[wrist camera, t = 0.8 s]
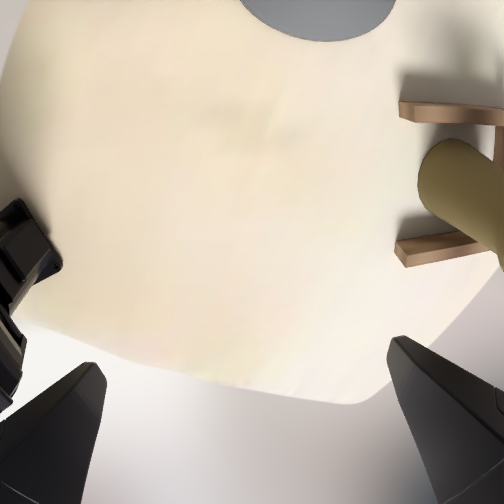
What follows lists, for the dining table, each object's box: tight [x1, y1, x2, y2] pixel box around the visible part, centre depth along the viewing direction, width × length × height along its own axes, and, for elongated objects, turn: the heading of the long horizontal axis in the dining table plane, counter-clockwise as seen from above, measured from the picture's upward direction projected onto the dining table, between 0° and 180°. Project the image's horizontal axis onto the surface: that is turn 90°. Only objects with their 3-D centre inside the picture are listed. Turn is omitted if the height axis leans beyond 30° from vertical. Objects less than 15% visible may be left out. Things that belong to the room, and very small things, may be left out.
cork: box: [417, 139, 504, 272], centre depth 15 cm, size 6×6×11 cm
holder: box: [395, 102, 504, 268], centre depth 18 cm, size 10×11×4 cm
